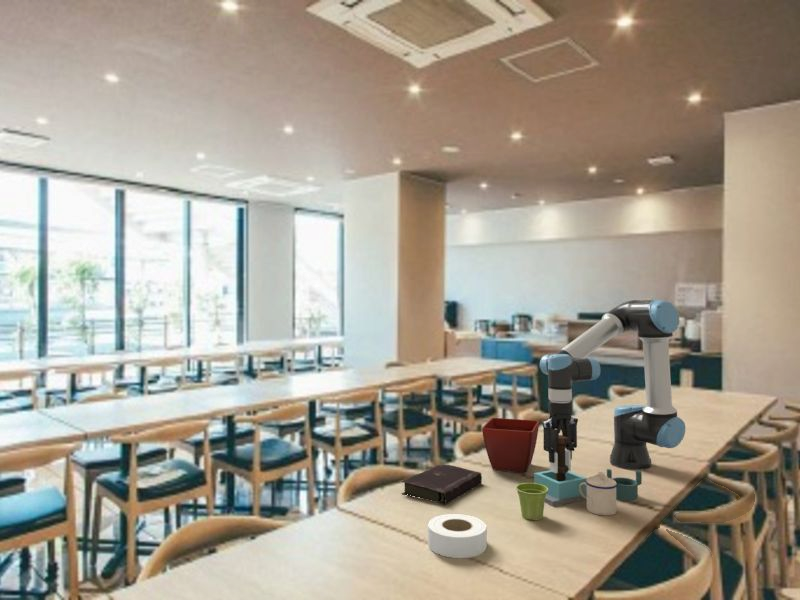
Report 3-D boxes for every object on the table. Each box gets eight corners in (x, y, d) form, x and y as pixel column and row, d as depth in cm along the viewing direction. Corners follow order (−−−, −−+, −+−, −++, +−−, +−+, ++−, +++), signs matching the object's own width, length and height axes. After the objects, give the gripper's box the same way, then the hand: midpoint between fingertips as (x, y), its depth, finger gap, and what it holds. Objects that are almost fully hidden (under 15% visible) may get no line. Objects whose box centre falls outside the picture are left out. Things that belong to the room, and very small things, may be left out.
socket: (567, 485, 192) (567, 466, 192) (595, 497, 181) (595, 477, 181) (526, 493, 185) (526, 474, 185) (552, 506, 173) (552, 485, 173)
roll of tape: (448, 527, 158) (448, 508, 158) (497, 542, 148) (497, 522, 148) (415, 547, 145) (415, 526, 145) (466, 565, 136) (466, 542, 136)
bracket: (644, 498, 180) (643, 470, 180) (625, 503, 175) (625, 475, 175) (620, 490, 187) (620, 464, 187) (602, 495, 183) (602, 468, 183)
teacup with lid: (622, 511, 169) (622, 473, 169) (607, 518, 163) (607, 479, 163) (587, 500, 178) (587, 464, 178) (571, 507, 172) (571, 470, 172)
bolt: (550, 479, 185) (549, 434, 185) (564, 478, 186) (564, 434, 186) (556, 485, 180) (556, 439, 179) (571, 484, 180) (571, 438, 180)
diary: (482, 486, 194) (482, 471, 194) (446, 508, 174) (446, 492, 174) (437, 475, 205) (437, 462, 205) (398, 495, 185) (398, 480, 185)
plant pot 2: (530, 525, 159) (530, 495, 159) (509, 514, 167) (509, 485, 167) (555, 519, 163) (554, 490, 163) (533, 508, 171) (533, 480, 171)
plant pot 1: (481, 471, 208) (481, 427, 208) (492, 458, 226) (492, 417, 226) (532, 477, 201) (532, 431, 201) (539, 463, 218) (539, 420, 218)
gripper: (572, 396, 190) (573, 464, 190) (531, 401, 182) (531, 471, 182) (588, 400, 183) (589, 470, 183) (546, 405, 175) (546, 478, 175)
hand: (560, 470), depth 183 cm, fingers closed on bolt, 5 cm apart
